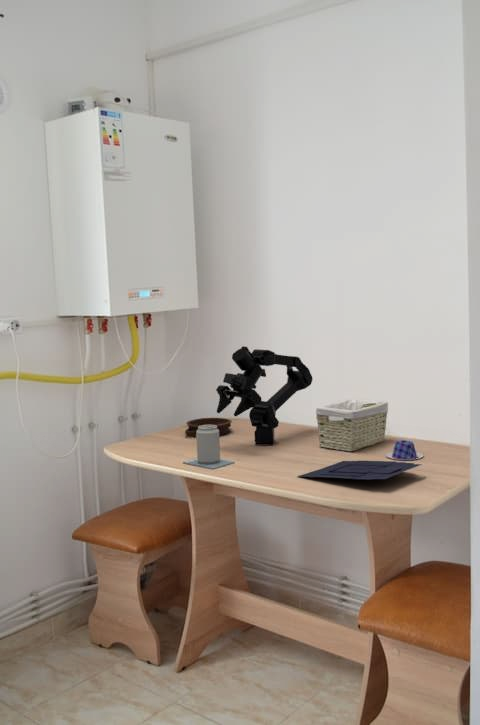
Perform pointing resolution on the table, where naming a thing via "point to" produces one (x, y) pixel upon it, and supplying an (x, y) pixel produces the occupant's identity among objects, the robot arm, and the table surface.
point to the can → (208, 444)
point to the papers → (362, 469)
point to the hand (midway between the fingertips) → (226, 414)
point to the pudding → (404, 451)
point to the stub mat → (210, 466)
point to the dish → (219, 422)
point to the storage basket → (351, 424)
